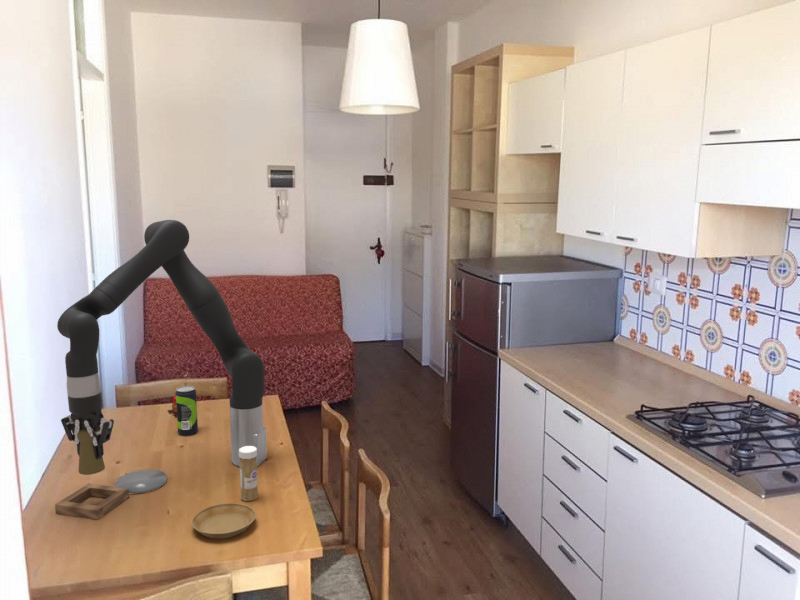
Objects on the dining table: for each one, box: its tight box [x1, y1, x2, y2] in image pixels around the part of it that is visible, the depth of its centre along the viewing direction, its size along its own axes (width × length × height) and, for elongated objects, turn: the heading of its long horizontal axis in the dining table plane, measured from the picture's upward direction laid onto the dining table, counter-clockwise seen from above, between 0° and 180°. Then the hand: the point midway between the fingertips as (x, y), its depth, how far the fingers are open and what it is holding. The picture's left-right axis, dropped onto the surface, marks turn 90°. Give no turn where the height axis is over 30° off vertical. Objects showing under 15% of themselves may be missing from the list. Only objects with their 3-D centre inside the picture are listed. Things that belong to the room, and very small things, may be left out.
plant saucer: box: [191, 502, 257, 540], centre depth 159 cm, size 15×15×3 cm
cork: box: [77, 429, 106, 476], centre depth 166 cm, size 6×6×11 cm
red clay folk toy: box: [171, 371, 190, 418], centre depth 233 cm, size 8×7×15 cm
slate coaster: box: [114, 469, 168, 495], centre depth 181 cm, size 13×13×1 cm
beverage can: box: [175, 385, 199, 437], centre depth 216 cm, size 6×6×15 cm
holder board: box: [54, 482, 130, 521], centre depth 169 cm, size 12×12×2 cm
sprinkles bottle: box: [239, 446, 259, 502], centre depth 172 cm, size 5×5×14 cm
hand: (90, 457), depth 167 cm, fingers closed on cork, 3 cm apart
